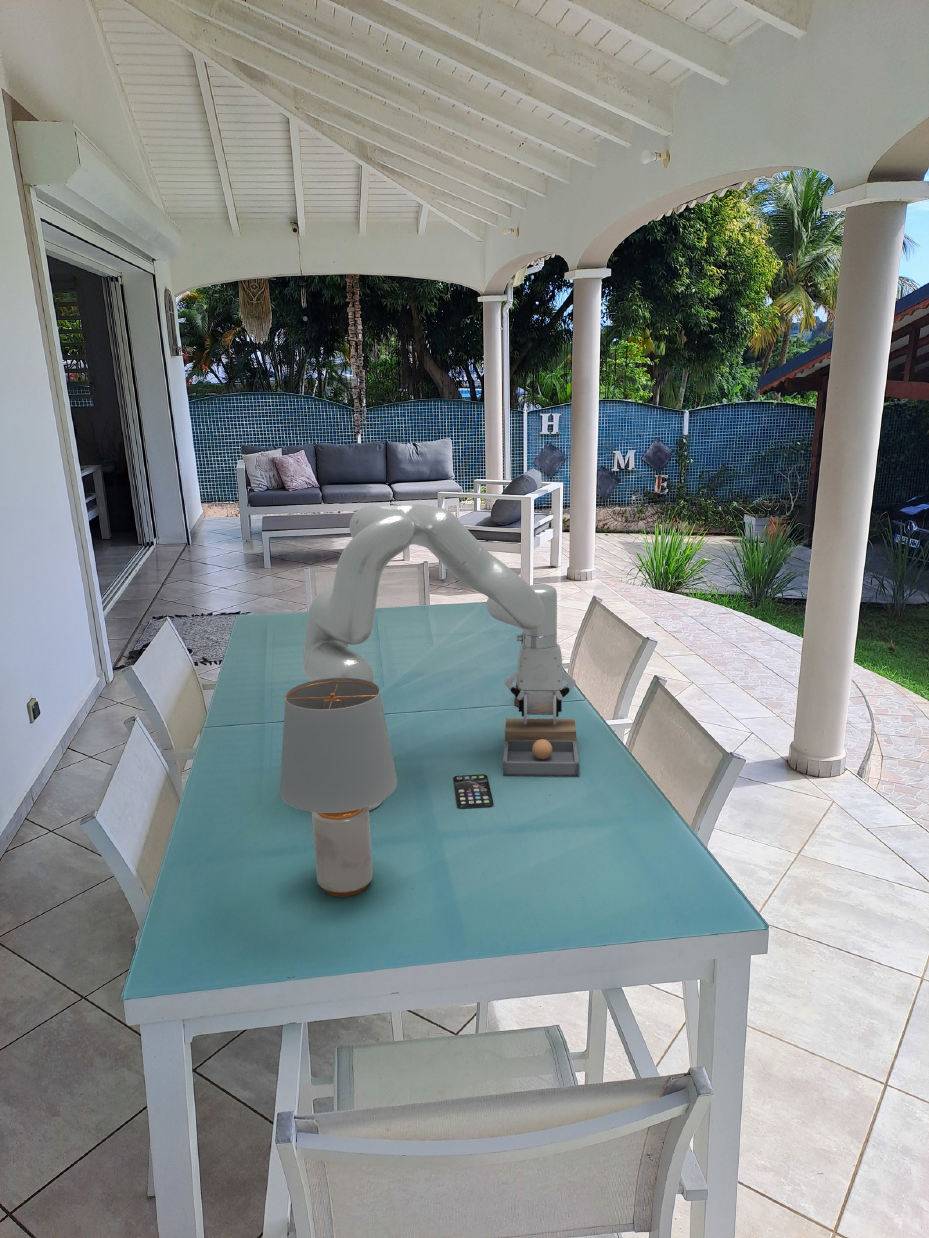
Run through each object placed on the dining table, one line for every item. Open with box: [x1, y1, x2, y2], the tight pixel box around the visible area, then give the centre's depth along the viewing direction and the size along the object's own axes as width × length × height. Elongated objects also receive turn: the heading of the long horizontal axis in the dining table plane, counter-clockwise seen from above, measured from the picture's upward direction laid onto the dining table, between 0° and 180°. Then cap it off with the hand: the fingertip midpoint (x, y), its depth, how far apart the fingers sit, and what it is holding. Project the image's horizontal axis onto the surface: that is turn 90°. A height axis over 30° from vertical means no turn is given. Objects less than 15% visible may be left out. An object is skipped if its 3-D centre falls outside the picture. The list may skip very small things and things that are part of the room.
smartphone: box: [452, 773, 495, 810], centre depth 178 cm, size 7×1×15 cm
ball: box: [532, 739, 552, 759], centre depth 191 cm, size 4×4×4 cm
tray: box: [502, 739, 580, 778], centre depth 190 cm, size 13×16×3 cm
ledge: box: [504, 717, 577, 741], centre depth 199 cm, size 8×16×5 cm, turn 85°
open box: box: [523, 691, 557, 725], centre depth 198 cm, size 7×7×7 cm
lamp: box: [279, 678, 398, 898], centre depth 141 cm, size 19×19×34 cm
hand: (540, 714), depth 198 cm, fingers closed on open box, 7 cm apart
